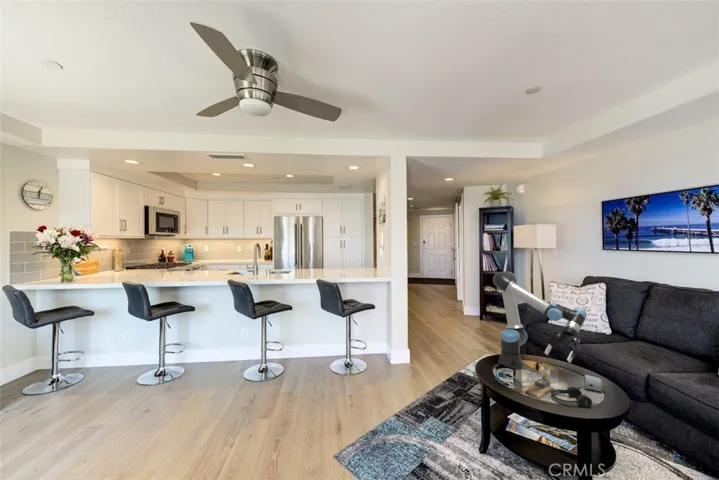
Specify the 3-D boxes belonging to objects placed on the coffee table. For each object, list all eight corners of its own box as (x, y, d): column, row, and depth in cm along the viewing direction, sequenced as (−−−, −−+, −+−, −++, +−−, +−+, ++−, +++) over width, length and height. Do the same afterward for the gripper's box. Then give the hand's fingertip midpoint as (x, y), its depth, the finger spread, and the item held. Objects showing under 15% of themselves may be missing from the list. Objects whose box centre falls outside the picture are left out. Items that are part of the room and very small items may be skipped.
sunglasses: (497, 376, 191) (498, 368, 191) (523, 385, 183) (524, 377, 182) (493, 384, 179) (494, 376, 179) (521, 394, 171) (522, 385, 171)
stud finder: (534, 385, 174) (534, 381, 174) (539, 382, 177) (539, 378, 177) (543, 388, 170) (543, 384, 170) (548, 386, 173) (548, 381, 173)
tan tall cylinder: (540, 384, 179) (540, 363, 179) (543, 382, 182) (543, 361, 182) (548, 386, 176) (547, 365, 176) (551, 384, 178) (551, 363, 178)
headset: (599, 389, 151) (556, 390, 155) (602, 408, 151) (559, 409, 154) (584, 377, 165) (544, 379, 168) (586, 395, 164) (547, 396, 167)
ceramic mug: (603, 394, 167) (603, 380, 167) (585, 390, 171) (584, 376, 171) (600, 387, 176) (600, 373, 176) (583, 383, 180) (582, 370, 180)
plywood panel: (520, 391, 169) (520, 389, 169) (535, 383, 180) (535, 381, 180) (539, 399, 161) (539, 396, 161) (553, 390, 171) (553, 387, 171)
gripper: (596, 339, 180) (581, 368, 173) (554, 329, 202) (540, 354, 196) (590, 331, 178) (576, 360, 171) (549, 322, 200) (534, 347, 194)
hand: (556, 357), depth 183 cm, fingers open, 13 cm apart
